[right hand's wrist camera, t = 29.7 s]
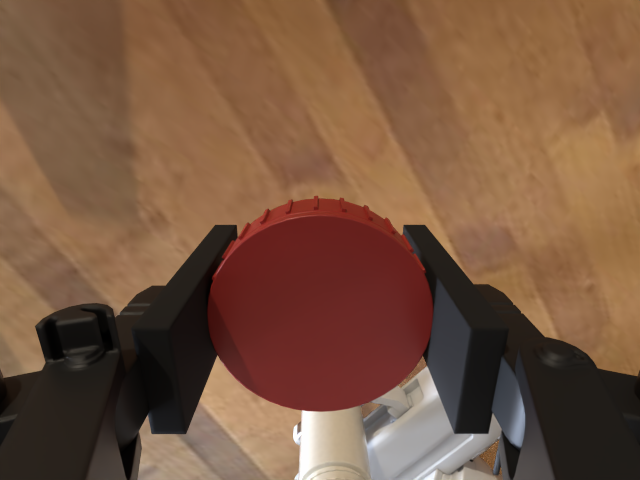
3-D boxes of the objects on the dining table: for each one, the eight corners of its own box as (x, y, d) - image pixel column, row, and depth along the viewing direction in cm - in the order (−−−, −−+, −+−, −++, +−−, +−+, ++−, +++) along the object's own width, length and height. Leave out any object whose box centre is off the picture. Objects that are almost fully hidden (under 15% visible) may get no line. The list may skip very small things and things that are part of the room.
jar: (314, 333, 38) (313, 472, 24) (362, 348, 38) (388, 493, 24) (297, 373, 39) (286, 525, 25) (343, 387, 40) (357, 543, 26)
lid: (321, 406, 13) (321, 447, 12) (177, 295, 12) (155, 325, 10) (462, 293, 12) (484, 322, 10) (318, 148, 10) (318, 157, 9)
